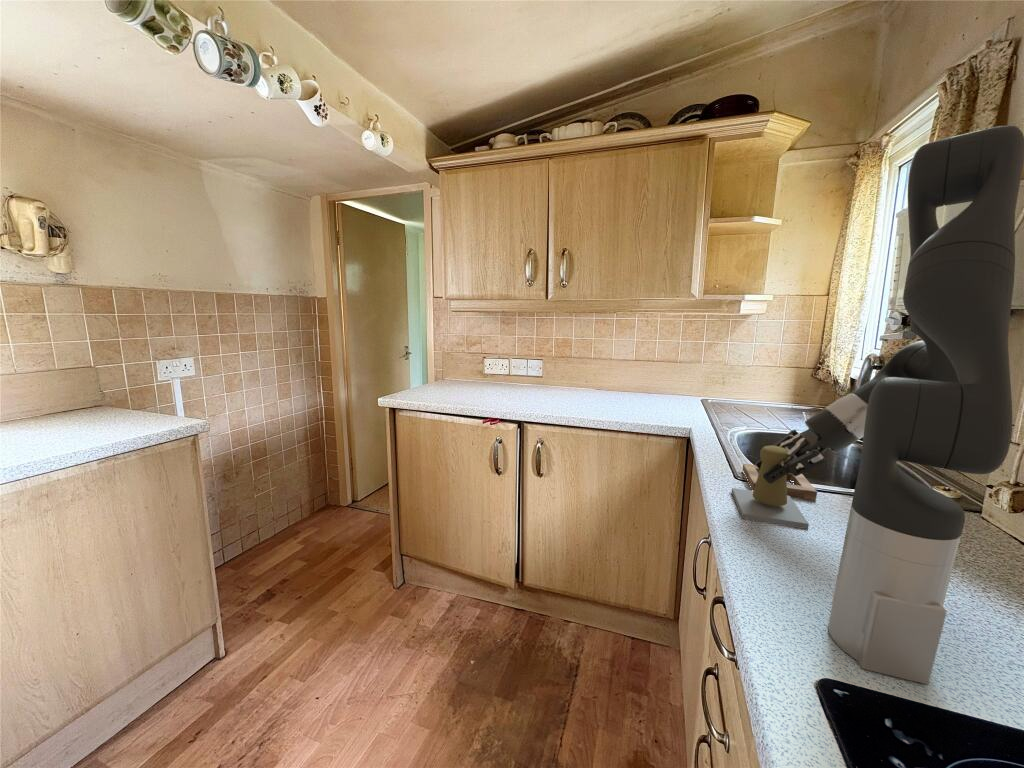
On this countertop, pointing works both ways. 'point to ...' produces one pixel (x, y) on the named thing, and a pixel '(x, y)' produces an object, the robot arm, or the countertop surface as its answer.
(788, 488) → the walnut socket
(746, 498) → the slate pad
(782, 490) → the cork
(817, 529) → the countertop surface
